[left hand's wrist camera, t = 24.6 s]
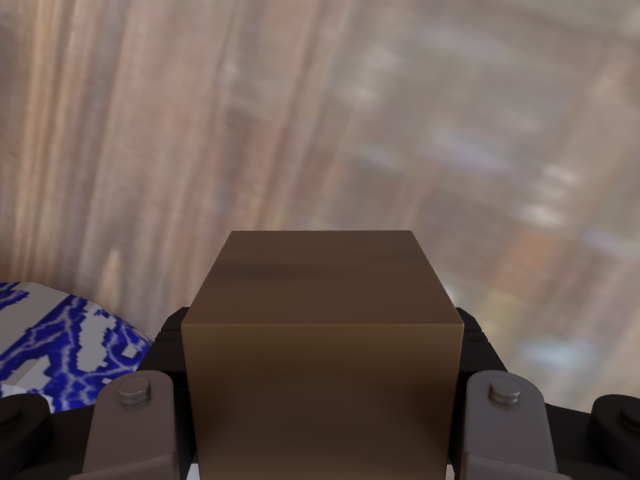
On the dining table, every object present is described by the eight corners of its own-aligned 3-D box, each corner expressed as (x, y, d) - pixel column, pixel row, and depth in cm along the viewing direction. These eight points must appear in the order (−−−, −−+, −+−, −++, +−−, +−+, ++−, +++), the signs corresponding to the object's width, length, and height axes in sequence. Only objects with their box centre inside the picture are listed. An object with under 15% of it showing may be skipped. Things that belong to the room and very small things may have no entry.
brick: (400, 388, 13) (438, 539, 9) (242, 388, 13) (206, 539, 9) (411, 229, 12) (465, 323, 7) (231, 229, 12) (179, 324, 7)
